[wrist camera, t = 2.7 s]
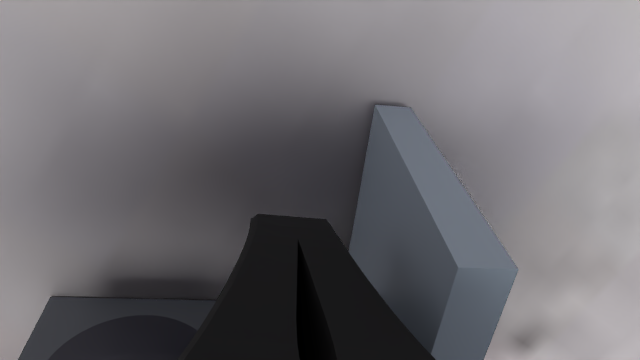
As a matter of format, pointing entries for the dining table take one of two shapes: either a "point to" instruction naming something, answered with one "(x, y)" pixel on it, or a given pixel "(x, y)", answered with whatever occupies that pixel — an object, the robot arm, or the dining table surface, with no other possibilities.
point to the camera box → (115, 329)
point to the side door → (427, 241)
